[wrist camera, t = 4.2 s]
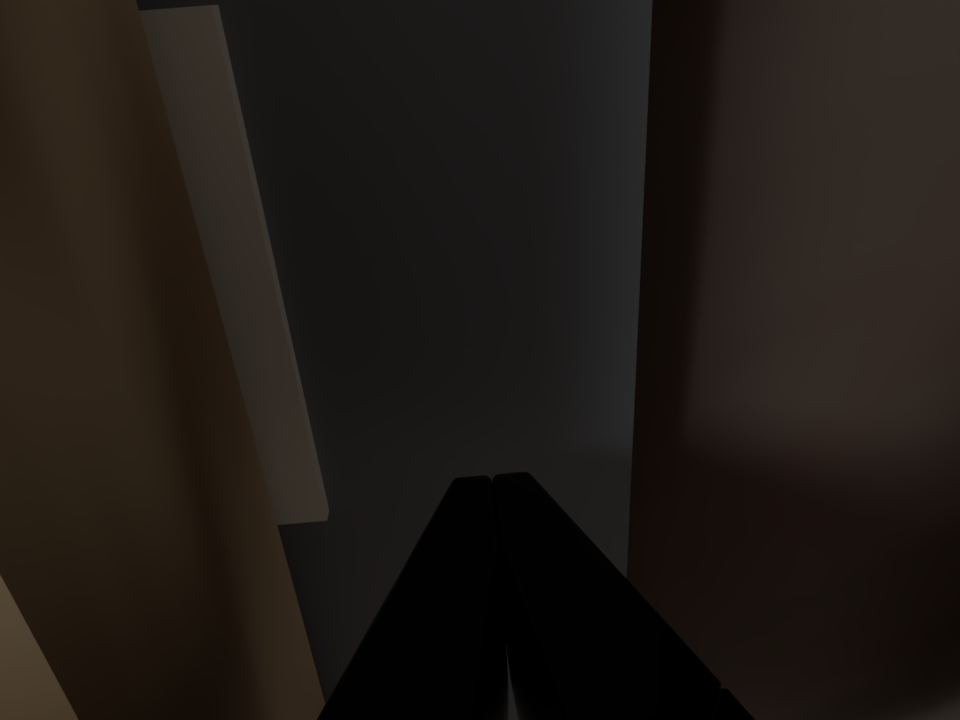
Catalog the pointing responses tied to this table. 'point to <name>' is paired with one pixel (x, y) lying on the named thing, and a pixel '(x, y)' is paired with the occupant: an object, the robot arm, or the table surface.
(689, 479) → the table surface
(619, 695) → the robot arm
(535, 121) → the label board
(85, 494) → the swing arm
